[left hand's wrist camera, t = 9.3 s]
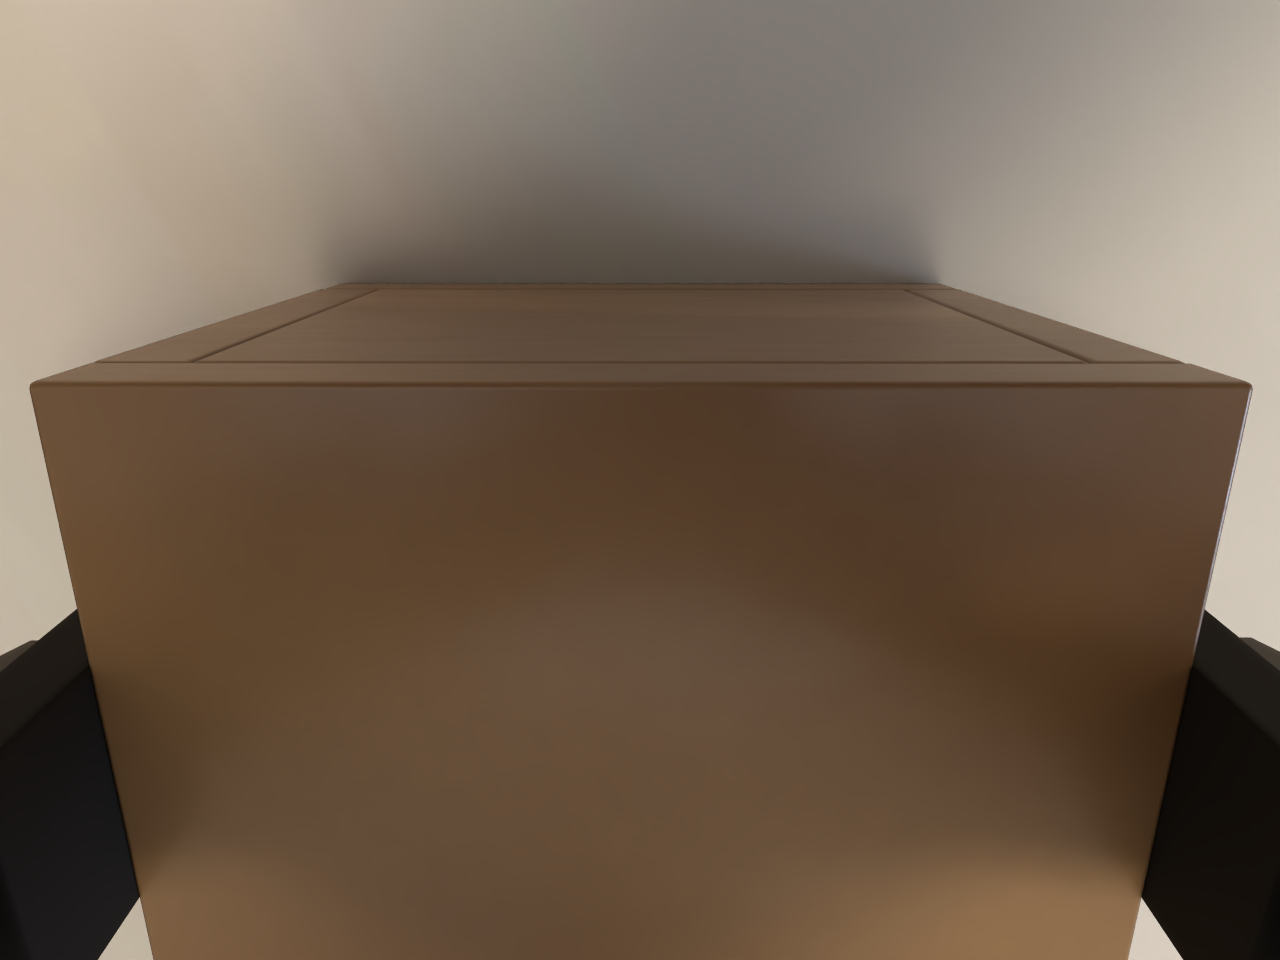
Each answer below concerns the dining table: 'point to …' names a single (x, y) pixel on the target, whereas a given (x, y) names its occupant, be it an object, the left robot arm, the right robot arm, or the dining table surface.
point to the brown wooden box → (640, 620)
